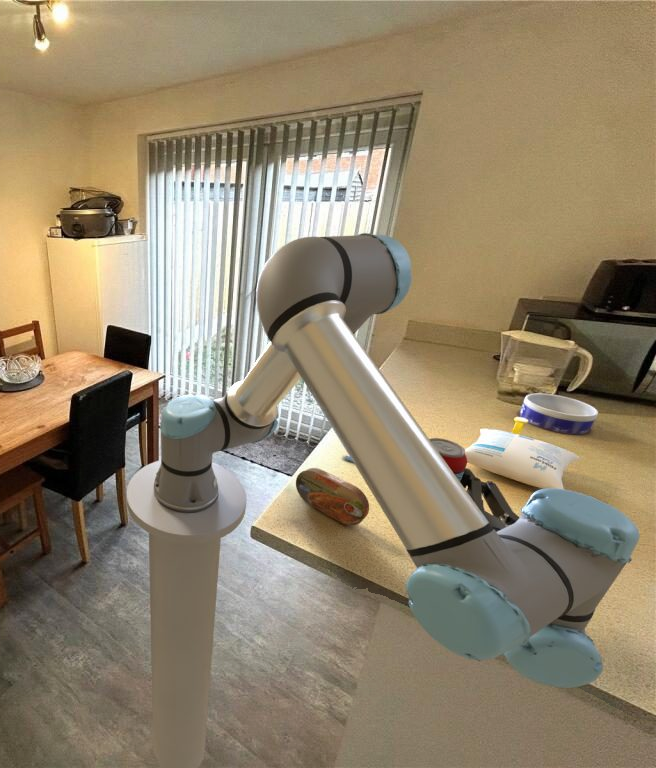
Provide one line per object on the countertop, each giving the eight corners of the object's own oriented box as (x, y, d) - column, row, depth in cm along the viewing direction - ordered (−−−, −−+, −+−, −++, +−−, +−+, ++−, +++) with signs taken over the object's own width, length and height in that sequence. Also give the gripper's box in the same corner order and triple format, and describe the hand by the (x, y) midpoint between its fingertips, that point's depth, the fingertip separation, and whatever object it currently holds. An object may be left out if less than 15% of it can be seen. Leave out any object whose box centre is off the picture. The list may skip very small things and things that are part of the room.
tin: (292, 495, 89) (297, 464, 86) (300, 489, 91) (305, 459, 88) (359, 534, 78) (367, 500, 75) (366, 527, 80) (375, 493, 76)
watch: (510, 432, 112) (517, 413, 110) (523, 435, 110) (531, 417, 108) (505, 439, 109) (512, 420, 107) (518, 443, 107) (526, 424, 105)
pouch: (486, 415, 106) (462, 438, 94) (586, 447, 92) (572, 477, 80) (475, 440, 109) (451, 465, 97) (571, 474, 95) (555, 507, 84)
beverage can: (432, 520, 66) (453, 461, 62) (395, 496, 72) (412, 440, 67) (458, 509, 69) (480, 452, 64) (420, 487, 74) (438, 432, 70)
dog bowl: (599, 439, 108) (609, 420, 105) (526, 427, 115) (534, 408, 112) (577, 416, 120) (585, 398, 117) (512, 406, 127) (519, 389, 124)
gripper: (394, 555, 56) (363, 465, 76) (566, 589, 51) (483, 482, 71) (407, 515, 53) (371, 432, 73) (591, 546, 48) (497, 447, 68)
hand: (426, 457), depth 72 cm, fingers closed on beverage can, 7 cm apart
